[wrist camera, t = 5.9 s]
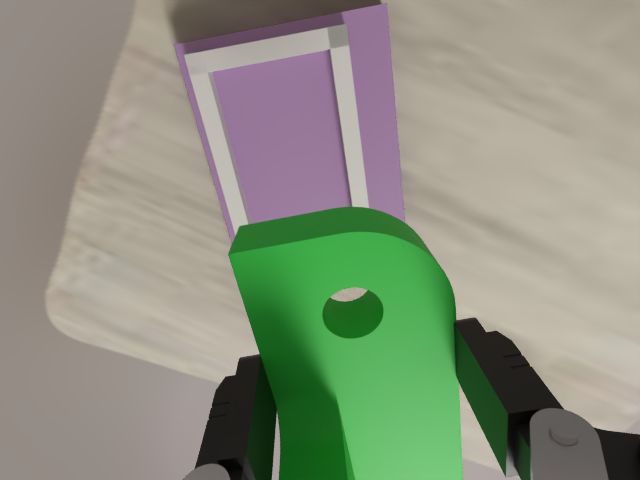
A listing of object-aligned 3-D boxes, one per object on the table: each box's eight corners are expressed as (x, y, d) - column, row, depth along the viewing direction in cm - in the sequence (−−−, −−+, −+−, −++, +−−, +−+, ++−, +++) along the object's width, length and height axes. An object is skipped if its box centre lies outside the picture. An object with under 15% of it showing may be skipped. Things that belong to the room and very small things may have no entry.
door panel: (382, 7, 26) (390, 0, 23) (404, 264, 34) (412, 281, 31) (182, 45, 27) (167, 43, 24) (251, 288, 35) (246, 307, 32)
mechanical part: (445, 449, 17) (556, 743, 9) (311, 471, 17) (318, 775, 10) (428, 190, 12) (631, 388, 5) (239, 226, 12) (143, 469, 5)
